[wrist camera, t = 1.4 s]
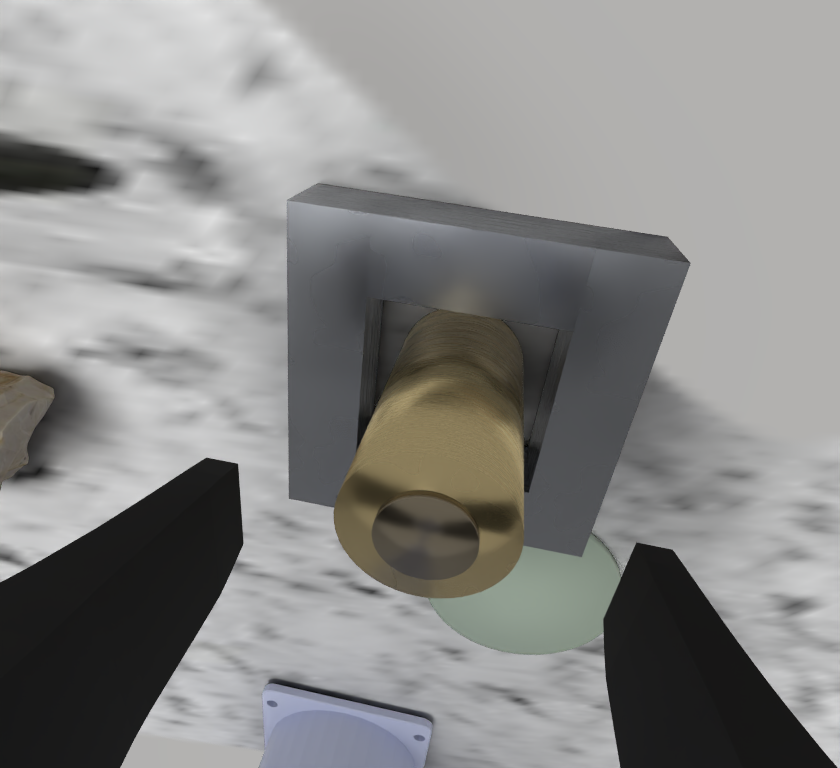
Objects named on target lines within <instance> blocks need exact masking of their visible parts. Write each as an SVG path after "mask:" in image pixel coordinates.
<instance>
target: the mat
mask: <svg viewBox="0 0 840 768" xmlns="http://www.w3.org/2000/svg"><path fill="white" fill-rule="evenodd" d="M620 579H621V577H620V573H619V569H618V566H617V564H616V561H615V559H614V557H613V556H612V554H611V553H610V551H609V550H608V549H607V548H606V546H605V545H604V544H603V543H602V542H601V541H600V540H599V539H598V538H596V537H595V536H594V535H593V534H590V537H589V539H588V542H587V545H586V547H585V550H584V553H583V556H582V557H578V556H573V555H568V554H563V553H558V552H553V551H548V550H543V549H538V548H533V547H528V546H523V549H522V553H521V555H520V558H519V560H518V562H517V563H516V565H515V567H514V568H513V569H512V571H511V572H510V573H509V574H508V575H507V576H506V577H505V578H504V579H503V580H501V581H500V582H499V583H497V584H495V585H494V586H492V587H490V588H488V589H486V590H484V591H482V592H479V593H476V594H473V595H469V596H464V597H458V598H442V599H438V598H429V600H430V602H431V605H432V607H433V608H434V610H435V611H436V612H437V614H438V615H439V616H440V617H441V619H442V620H443V621H444V622H445V623H446V624H447V625H449V626H450V627H451V628H452V629H453V630H455V631H456V632H458V633H459V634H460V635H462V636H464V637H466V638H467V639H469V640H471V641H473V642H475V643H478V644H480V645H483V646H485V647H488V648H491V649H495V650H499V651H503V652H508V653H514V654H525V655H541V654H552V653H558V652H563V651H567V650H570V649H573V648H576V647H579V646H581V645H584V644H586V643H588V642H590V641H591V640H593V639H595V638H596V637H598V636H599V635H600V634H602V633H603V632H604V627H603V618H604V616H605V614H606V612H607V609H608V607H609V605H610V602H611V600H612V598H613V595H614V593H615V591H616V589H617V586H618V584H619V582H620Z"/></svg>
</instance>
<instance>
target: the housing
mask: <svg viewBox="0 0 840 768" xmlns="http://www.w3.org/2000/svg"><path fill="white" fill-rule="evenodd" d="M689 266H690V262H689V261H688V260H687V259H686V257H685V256H684V255H683V254H682V253H681V252H680V251H679V249H678V248H677V247H676V246H675V245H674V244H673V243H672V241H671V240H670V239H669V238H668V237H665V236H658V235H652V234H645V233H638V232H632V231H626V230H619V229H613V228H606V227H599V226H593V225H586V224H579V223H573V222H567V221H559V220H554V219H547V218H541V217H534V216H527V215H521V214H514V213H508V212H501V211H495V210H488V209H482V208H475V207H469V206H462V205H455V204H449V203H442V202H436V201H429V200H423V199H416V198H410V197H403V196H396V195H390V194H383V193H377V192H370V191H364V190H357V189H351V188H344V187H337V186H331V185H324V184H318V183H317V184H316V185H314V186H312V187H310V188H308V189H306V190H305V191H303V192H301V193H299V194H297V195H296V196H294V197H292V198H290V199H288V200H287V287H288V425H289V499H294V500H299V501H304V502H309V503H314V504H319V505H324V506H329V507H334V508H335V502H336V499H337V496H338V494H339V491H340V489H341V487H342V484H343V482H344V480H345V478H346V475H347V473H348V471H349V468H350V466H351V464H352V462H353V459H354V457H355V455H356V452H357V450H358V448H359V445H360V443H361V441H362V439H363V436H364V434H365V432H366V429H367V427H368V425H369V422H370V420H371V418H372V416H373V413H374V402H375V391H376V379H377V367H378V356H379V344H380V332H381V320H382V309H383V300H388V301H394V302H400V303H406V304H412V305H418V306H424V307H429V308H435V309H441V310H447V311H453V312H459V313H465V314H471V315H477V316H483V317H489V318H495V319H501V320H507V321H513V322H519V323H524V324H530V325H536V326H542V327H548V328H554V329H559V331H558V335H557V339H556V343H555V346H554V350H553V354H552V358H551V362H550V366H549V369H548V373H547V377H546V381H545V385H544V388H543V392H542V396H541V400H540V404H539V407H538V411H537V415H536V419H535V423H534V426H533V430H532V434H531V438H530V442H529V445H528V447H524V544H523V546H528V547H533V548H538V549H543V550H548V551H553V552H558V553H563V554H568V555H573V556H578V557H582V556H583V553H584V550H585V547H586V545H587V542H588V539H589V537H590V534H591V531H592V528H593V526H594V523H595V520H596V518H597V515H598V512H599V510H600V507H601V504H602V501H603V499H604V496H605V493H606V491H607V488H608V485H609V482H610V480H611V477H612V474H613V472H614V469H615V466H616V464H617V461H618V458H619V455H620V453H621V450H622V447H623V445H624V442H625V439H626V436H627V434H628V431H629V428H630V426H631V423H632V420H633V418H634V415H635V412H636V409H637V407H638V404H639V401H640V399H641V396H642V393H643V390H644V388H645V385H646V382H647V380H648V377H649V374H650V372H651V369H652V366H653V363H654V361H655V358H656V355H657V353H658V350H659V347H660V344H661V342H662V339H663V336H664V334H665V331H666V328H667V326H668V323H669V320H670V317H671V315H672V312H673V309H674V307H675V304H676V301H677V298H678V296H679V293H680V290H681V287H682V285H683V282H684V279H685V277H686V274H687V271H688V268H689Z"/></svg>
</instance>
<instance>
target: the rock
mask: <svg viewBox="0 0 840 768" xmlns="http://www.w3.org/2000/svg"><path fill="white" fill-rule="evenodd" d="M54 398H55V396H54V390H53V388H52V387H49V386H47V385H45V384H43V383H41V382H39V381H37V380H36V379H34V378H32V377H30V376H21V375H18V374H14V373H11V372H7V371H1V370H0V489H1V485H2V481H4V480H6V479H9V478H11V477H13V475H14V474H15V473H16V472H17V471H18V470H20V469H21V468H22V467H23V466H24V465H27V464H28V461H29V456H28V452H27V445H28V442H29V440H30V437H31V435H32V433H33V431H34V429H35V427H36V426H37V424H38V423H39V422H40V420H41V419H42V418H43V416H44V415H45V413H46V411H47V410H48V408H49V406H50V405H51V403H52V401H53V400H54Z"/></svg>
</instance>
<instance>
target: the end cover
mask: <svg viewBox="0 0 840 768" xmlns="http://www.w3.org/2000/svg"><path fill="white" fill-rule="evenodd" d="M334 524H335V529H336V533H337V536H338V538H339V541H340V543H341V545H342V547H343V548H344V550H345V551H346V553H347V554H348V556H349V557H350V558H351V559H352V560H353V561H354V563H355V564H356V565H357V566H358V567H360V568H361V569H362V570H363V571H364V572H365V573H367V574H368V575H369V576H371V577H372V578H374V579H375V580H377V581H379V582H381V583H382V584H384V585H386V586H388V587H391V588H393V589H395V590H398V591H401V592H404V593H407V594H411V595H415V596H420V597H426V598H438V599H442V598H458V597H464V596H469V595H473V594H476V593H479V592H482V591H484V590H486V589H488V588H490V587H492V586H494V585H495V584H497V583H499V582H500V581H501V580H503V579H504V578H505V577H506V576H507V575H508V574H509V573H510V572H511V571H512V569H513V568H514V567H515V565H516V563H517V562H518V560H519V558H520V555H521V553H522V549H523V544H524V406H523V354H522V350H521V346H520V344H519V342H518V340H517V338H516V336H515V335H514V333H513V332H512V330H511V329H510V328H509V327H508V326H507V325H506V324H505V323H504V322H503V321H502V320H500V319H495V318H489V317H483V316H477V315H471V314H465V313H459V312H453V311H447V310H441V309H440V310H437V311H434V312H432V313H430V314H428V315H427V316H425V317H424V318H422V319H421V320H420V321H419V322H418V323H417V324H416V325H415V326H414V327H413V328H412V329H411V331H410V332H409V334H408V336H407V338H406V340H405V342H404V344H403V347H402V349H401V351H400V354H399V356H398V358H397V360H396V363H395V365H394V367H393V370H392V372H391V374H390V377H389V379H388V381H387V383H386V386H385V388H384V390H383V393H382V395H381V397H380V399H379V402H378V404H377V406H376V409H375V411H374V413H373V416H372V418H371V420H370V422H369V425H368V427H367V429H366V432H365V434H364V436H363V439H362V441H361V443H360V445H359V448H358V450H357V452H356V455H355V457H354V459H353V462H352V464H351V466H350V468H349V471H348V473H347V475H346V478H345V480H344V482H343V484H342V487H341V489H340V491H339V494H338V496H337V499H336V502H335V508H334Z"/></svg>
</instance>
